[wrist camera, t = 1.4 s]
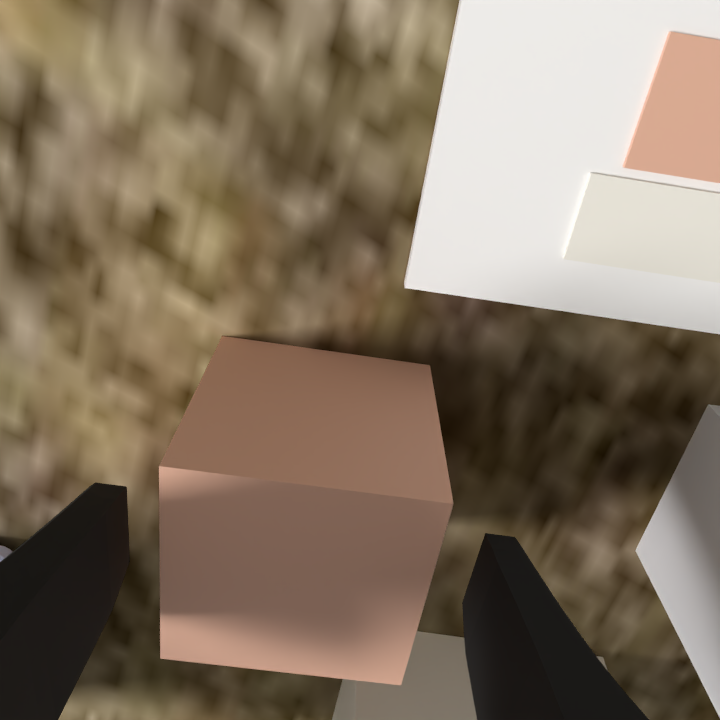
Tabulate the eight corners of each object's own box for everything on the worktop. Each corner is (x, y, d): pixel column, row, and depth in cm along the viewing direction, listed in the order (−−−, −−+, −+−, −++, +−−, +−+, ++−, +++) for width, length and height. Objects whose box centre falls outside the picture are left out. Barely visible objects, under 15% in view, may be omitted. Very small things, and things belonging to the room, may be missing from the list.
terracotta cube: (214, 495, 17) (160, 658, 13) (222, 334, 15) (158, 465, 10) (393, 518, 17) (401, 685, 13) (429, 363, 15) (453, 503, 11)
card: (404, 283, 14) (404, 289, 13) (479, -98, 11) (482, -103, 10) (826, 345, 14) (838, 353, 14) (1024, 1, 11) (1045, 1, 11)
